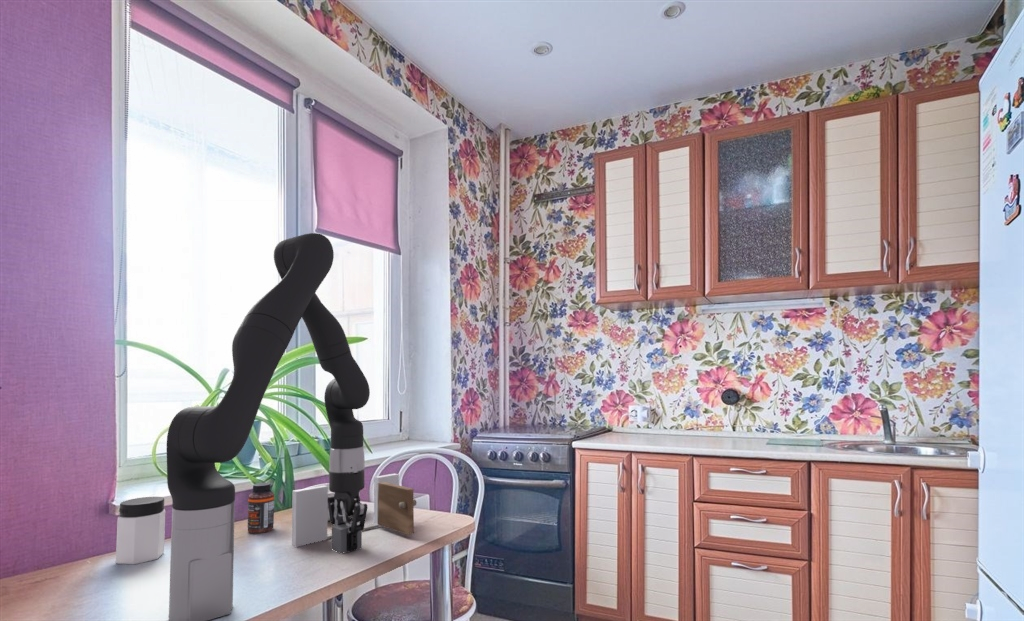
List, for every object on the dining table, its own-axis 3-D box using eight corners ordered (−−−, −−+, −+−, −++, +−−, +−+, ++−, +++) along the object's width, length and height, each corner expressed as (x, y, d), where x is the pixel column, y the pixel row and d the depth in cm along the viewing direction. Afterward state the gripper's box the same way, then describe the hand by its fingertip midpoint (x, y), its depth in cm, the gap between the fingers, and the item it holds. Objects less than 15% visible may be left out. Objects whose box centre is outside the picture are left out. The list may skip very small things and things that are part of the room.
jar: (125, 554, 127) (127, 497, 129) (167, 550, 130) (169, 494, 131) (110, 567, 119) (113, 506, 120) (155, 562, 121) (157, 503, 122)
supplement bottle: (241, 533, 142) (242, 485, 143) (259, 526, 148) (259, 481, 149) (262, 534, 140) (263, 486, 141) (278, 528, 146) (279, 481, 147)
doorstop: (361, 548, 128) (361, 525, 128) (340, 554, 124) (340, 529, 125) (352, 544, 131) (352, 522, 131) (331, 550, 127) (331, 526, 128)
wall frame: (399, 522, 148) (398, 474, 150) (295, 547, 130) (296, 491, 131) (394, 521, 150) (394, 473, 151) (291, 545, 131) (292, 490, 132)
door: (385, 521, 146) (385, 480, 147) (417, 531, 136) (417, 488, 137) (371, 525, 143) (371, 483, 144) (403, 535, 133) (403, 490, 134)
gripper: (316, 467, 131) (315, 545, 130) (347, 474, 121) (347, 559, 120) (346, 462, 137) (346, 538, 135) (379, 469, 127) (379, 550, 125)
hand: (346, 547), depth 127 cm, fingers closed on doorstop, 4 cm apart
